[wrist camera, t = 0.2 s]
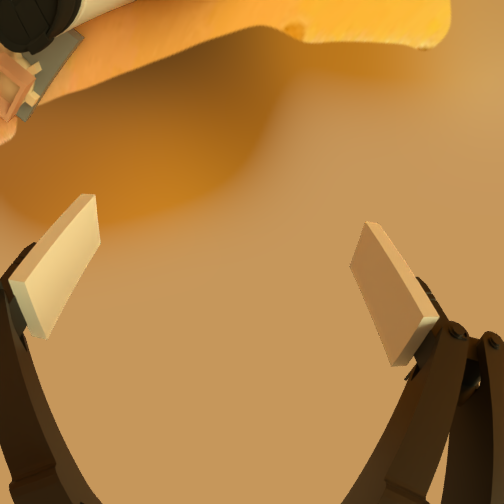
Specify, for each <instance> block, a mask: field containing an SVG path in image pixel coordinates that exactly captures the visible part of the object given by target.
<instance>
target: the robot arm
mask: <svg viewBox="0 0 504 504" xmlns="http://www.w3.org/2000/svg"><path fill="white" fill-rule="evenodd" d="M100 244H101V241H100V235H99V226H98V217H97V208H96V197H95V195H94V194H81V195H80V196H79V197H78V198H77V199H76V200H75V201H74V202H73V203H72V204H71V205H70V206H69V208H68V209H67V210H66V211H65V212H64V213H63V214H62V215H61V216H60V217H59V218H58V220H57V221H56V222H55V223H54V224H53V225H52V226H51V227H50V228H49V230H48V231H47V232H46V233H45V234H44V235H43V236H42V238H41V239H40V240H39V241H38V243H35V242H33V243H32V244H31V245H29V246H27V247H26V248H24V250H23V251H22V252H21V253H20V254H19V256H18V258H16V259H15V261H14V262H13V264H11V266H10V267H9V268H8V269H7V271H6V272H5V273H4V275H3V276H2V277H1V278H0V445H1V448H2V451H3V454H4V457H5V460H6V463H7V465H8V468H9V470H10V473H11V476H12V482H11V483H10V484H9V491H10V494H11V497H12V499H13V502H14V504H102V503H101V501H100V500H99V499H98V498H97V497H96V495H95V494H94V493H93V492H92V490H91V489H90V487H89V486H88V484H87V483H86V481H85V479H84V477H83V476H82V474H81V472H80V470H79V468H78V467H77V465H76V463H75V461H74V459H73V457H72V455H71V454H70V451H69V449H68V448H67V445H66V444H65V441H64V439H63V437H62V435H61V433H60V431H59V429H58V427H57V424H56V422H55V420H54V417H53V415H52V413H51V411H50V408H49V405H48V403H47V401H46V398H45V395H44V393H43V390H42V387H41V385H40V382H39V379H38V376H37V373H36V370H35V367H34V364H33V361H32V358H31V355H30V352H29V348H28V345H27V341H26V338H25V336H24V334H23V331H24V329H25V328H26V326H27V327H28V329H29V331H30V333H31V335H32V336H34V337H38V338H43V339H48V337H49V335H50V333H51V331H52V329H53V327H54V325H55V323H56V321H57V319H58V317H59V315H60V313H61V311H62V310H63V308H64V306H65V304H66V302H67V300H68V298H69V297H70V295H71V293H72V291H73V289H74V287H75V286H76V284H77V282H78V280H79V279H80V277H81V275H82V273H83V272H84V270H85V268H86V266H87V265H88V263H89V262H90V260H91V258H92V257H93V255H94V253H95V252H96V250H97V248H98V247H99V245H100ZM350 268H351V271H352V273H353V275H354V277H355V280H356V281H357V284H358V286H359V289H360V291H361V293H362V295H363V298H364V300H365V302H366V305H367V307H368V309H369V312H370V314H371V317H372V319H373V321H374V324H375V326H376V329H377V331H378V334H379V336H380V339H381V341H382V344H383V346H384V349H385V351H386V354H387V357H388V359H389V362H390V364H391V366H405V365H407V364H408V363H409V361H410V360H411V359H412V357H413V356H414V357H415V359H416V361H417V363H416V365H415V366H414V367H413V369H412V370H411V371H410V373H409V374H408V375H407V376H406V378H405V379H404V380H407V379H408V378H409V379H408V381H407V384H406V386H405V388H404V390H403V393H402V395H401V397H400V399H399V402H398V404H397V406H396V408H395V410H394V412H393V415H392V417H391V419H390V421H389V423H388V425H387V427H386V429H385V431H384V433H383V435H382V436H381V438H380V440H379V442H378V444H377V446H376V448H375V449H374V452H373V453H372V455H371V457H370V458H369V460H368V462H367V464H366V465H365V467H364V469H363V471H362V472H361V474H360V475H359V477H358V479H357V480H356V482H355V484H354V485H353V487H352V488H351V490H350V492H349V493H348V494H347V496H346V497H345V499H344V500H343V502H342V503H341V504H429V502H427V501H426V494H427V492H428V489H429V487H430V484H431V482H432V479H433V477H434V474H435V472H436V469H437V467H438V464H439V461H440V458H441V456H442V453H443V450H444V446H445V443H446V441H447V437H448V434H449V446H448V457H447V466H446V475H445V481H444V488H443V494H442V500H441V504H504V342H503V341H502V339H501V337H500V336H498V335H497V334H495V333H493V332H490V331H487V332H485V333H484V334H483V336H482V337H481V338H480V339H476V338H472V337H469V334H468V332H467V331H466V330H465V328H464V327H463V326H461V325H460V324H459V323H456V322H454V321H449V320H448V318H447V317H446V315H445V313H444V312H443V310H442V308H441V307H440V305H439V304H438V302H437V301H436V299H435V297H434V296H433V294H431V291H430V289H429V288H428V286H427V285H426V284H425V283H424V282H423V281H422V280H421V279H420V278H419V277H415V276H414V274H413V273H412V271H411V270H410V268H409V267H408V265H407V263H406V262H405V260H404V259H403V258H402V256H401V255H400V253H399V252H398V250H397V249H396V247H395V246H394V244H393V243H392V241H391V240H390V239H389V237H388V236H387V235H386V233H385V232H384V230H383V229H382V227H381V226H380V225H379V224H378V223H373V222H365V224H364V227H363V230H362V233H361V236H360V239H359V242H358V245H357V247H356V250H355V253H354V256H353V259H352V261H351V264H350ZM480 381H481V382H480ZM479 382H480V386H479V385H478V383H479Z"/></svg>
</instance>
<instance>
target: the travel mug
mask: <svg viewBox="0 0 504 504" xmlns="http://www.w3.org/2000/svg"><path fill="white" fill-rule="evenodd" d="M134 1H136V0H0V43H1V44H2V45H3V46H4V47H5V48H7V49H8V50H10V51H12V52H15V53H24V52H28V51H29V52H30V54H31V55H35V54H36V53H38V52H41V51H42V50H44V49H45V48H46V47H47V46H49V45H50V44H51V43H52V42H53V40H54V38H55V37H58V36H59V35H61V34H63V33H65V32H67V31H69V30H71V29H73V28H74V27H76V26H78V25H80V24H83V23H85V22H87V21H89V20H91V19H93V18H95V17H97V16H100V15H102V14H104V13H106V12H109V11H111V10H114V9H116V8H118V7H121V6H124V5H126V4H129V3H131V2H134Z"/></svg>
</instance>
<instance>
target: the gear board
mask: <svg viewBox="0 0 504 504" xmlns="http://www.w3.org/2000/svg"><path fill="white" fill-rule="evenodd" d="M83 39H84V37H83V36H82V35H81V34H79V33H78V32H77V31H76V30H74V29H71V30H69V31H67V32H65V33H63V34H61V35H59V36H58V37H55V38H54V40H53V42H52V43H51V44H50V45H49V46H47V47H46V48H45V49H44V50H42V51H41V52H38V53H36V54H35V55H31V54H30V52H29V51H28V52H24V53H15V52H12V51H10V50H8V49H7V48H5V47H4V46H3V45H2V44H1V43H0V117H1V118H2V119H4V120H5V121H6V122H7V123H8V122H9V121H10V120H11V119H12V118H13V117H14V116H15V115H17V116H18V117H19V118H21V119H22V120H23V121H24V122H26V121H27V120H28V119H29V118H30V117H31V115H32V113H33V111H34V110H35V108H36V106H37V105H38V103H39V101H40V100H41V98H42V97H43V95H44V93H45V92H46V90H47V89H48V87H49V86H50V84H51V83H52V81H53V80H54V78H55V77H56V75H57V74H58V72H59V71H60V70H61V68H62V67H63V65H64V64H65V63H66V61H67V60H68V59H69V57H70V56H71V55H72V53H73V52H74V51H75V49H76V48H77V47H78V46H79V44H80V43H81V42H82V40H83Z"/></svg>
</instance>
